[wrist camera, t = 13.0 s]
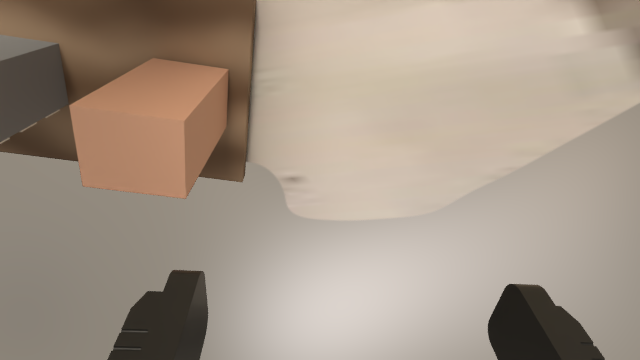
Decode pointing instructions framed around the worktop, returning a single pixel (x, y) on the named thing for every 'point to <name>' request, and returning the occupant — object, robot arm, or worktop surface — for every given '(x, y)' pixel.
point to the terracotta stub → (151, 128)
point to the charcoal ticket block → (29, 83)
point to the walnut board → (137, 60)
